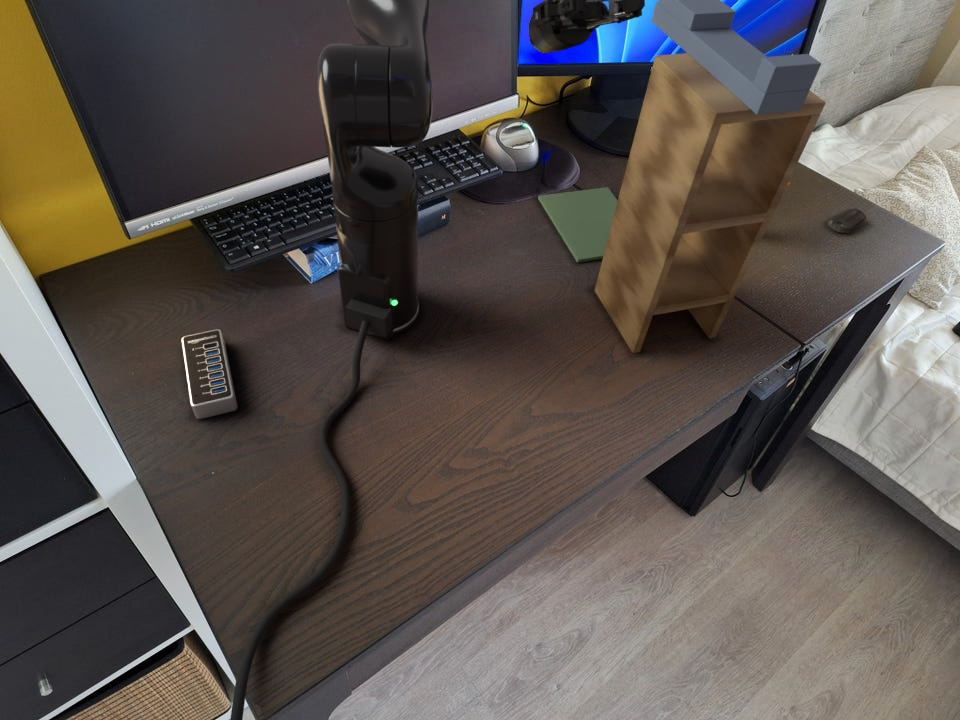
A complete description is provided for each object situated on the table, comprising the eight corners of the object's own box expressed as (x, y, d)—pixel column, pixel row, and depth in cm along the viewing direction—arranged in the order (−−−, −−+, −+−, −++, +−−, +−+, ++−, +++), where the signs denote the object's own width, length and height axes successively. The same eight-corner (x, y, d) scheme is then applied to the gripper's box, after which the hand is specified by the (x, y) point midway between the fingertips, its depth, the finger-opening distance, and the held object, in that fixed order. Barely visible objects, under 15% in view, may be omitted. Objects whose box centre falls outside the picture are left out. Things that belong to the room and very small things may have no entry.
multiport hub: (196, 420, 73) (190, 407, 71) (185, 349, 79) (180, 336, 78) (238, 409, 74) (233, 396, 72) (224, 341, 81) (220, 328, 79)
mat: (652, 251, 98) (653, 248, 98) (577, 262, 95) (578, 259, 95) (607, 190, 108) (607, 186, 108) (538, 198, 105) (538, 195, 105)
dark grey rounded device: (863, 223, 107) (869, 214, 105) (844, 237, 104) (850, 227, 102) (843, 212, 108) (848, 203, 107) (823, 225, 105) (829, 216, 104)
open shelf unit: (715, 337, 87) (826, 102, 63) (632, 353, 84) (716, 113, 60) (671, 277, 94) (756, 47, 71) (594, 290, 91) (655, 55, 68)
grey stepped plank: (800, 110, 62) (822, 63, 58) (756, 115, 60) (775, 67, 57) (689, 19, 75) (701, -24, 72) (650, 21, 74) (661, -23, 70)
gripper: (514, -4, 97) (558, -31, 82) (603, -8, 101) (661, -35, 86) (518, 52, 100) (561, 36, 85) (604, 47, 103) (661, 30, 88)
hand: (611, 1), depth 85 cm, fingers open, 8 cm apart
